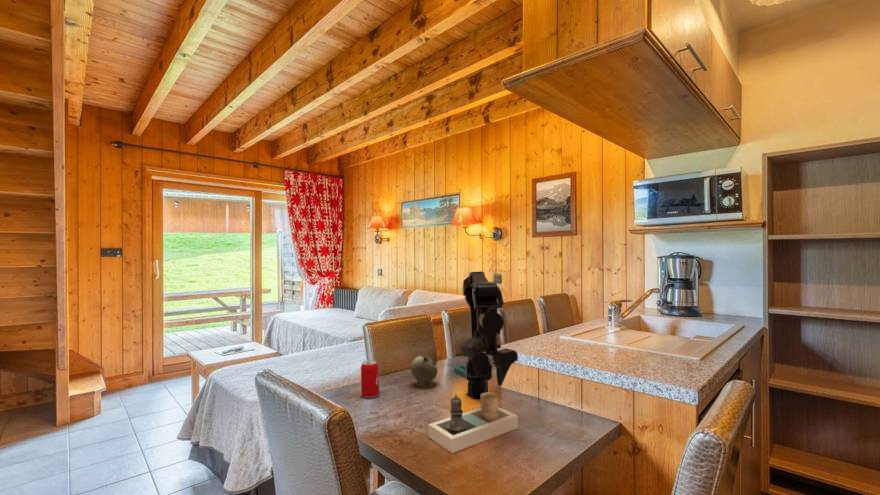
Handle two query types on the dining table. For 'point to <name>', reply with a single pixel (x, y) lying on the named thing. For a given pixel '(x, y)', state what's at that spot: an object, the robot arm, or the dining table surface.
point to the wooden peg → (489, 407)
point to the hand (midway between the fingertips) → (488, 381)
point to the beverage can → (370, 379)
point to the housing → (472, 429)
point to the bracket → (460, 370)
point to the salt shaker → (456, 417)
